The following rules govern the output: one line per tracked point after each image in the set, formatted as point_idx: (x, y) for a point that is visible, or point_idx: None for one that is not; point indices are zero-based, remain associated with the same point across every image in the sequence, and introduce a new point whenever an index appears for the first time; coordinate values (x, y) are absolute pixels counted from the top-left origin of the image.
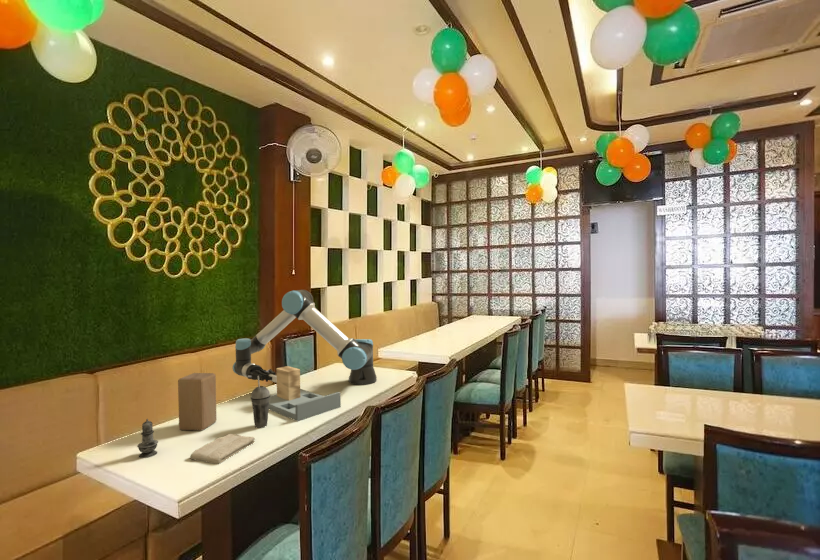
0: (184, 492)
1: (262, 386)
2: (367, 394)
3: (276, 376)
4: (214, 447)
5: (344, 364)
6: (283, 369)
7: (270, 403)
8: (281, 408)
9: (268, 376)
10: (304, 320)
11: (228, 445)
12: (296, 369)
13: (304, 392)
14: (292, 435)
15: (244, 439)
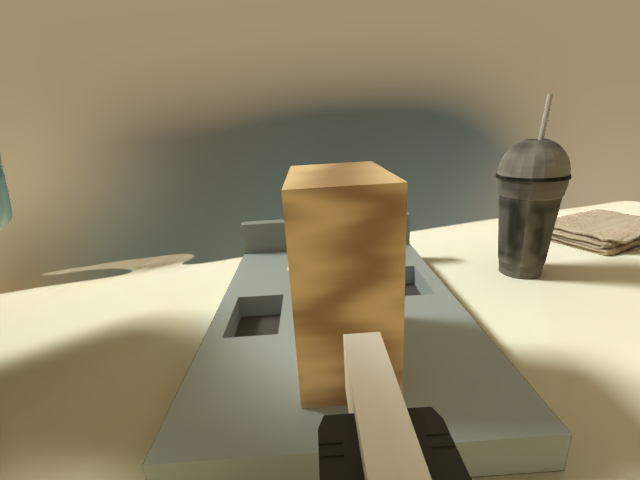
0: (626, 202)
1: (528, 143)
2: (83, 291)
3: (365, 338)
4: (628, 220)
5: (7, 199)
6: (370, 171)
7: (472, 326)
8: (435, 276)
9: (445, 474)
10: None
11: (592, 217)
12: (307, 166)
13: (225, 360)
14: (443, 231)
15: (558, 221)
